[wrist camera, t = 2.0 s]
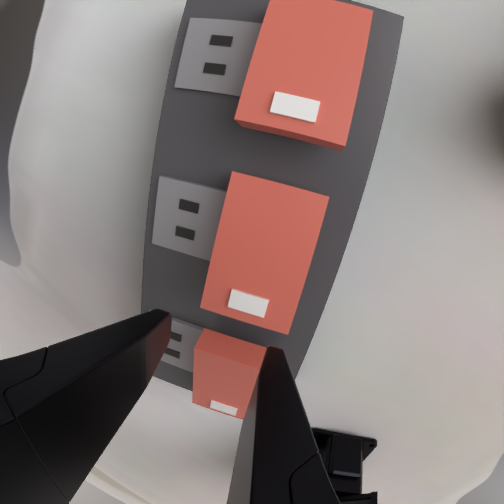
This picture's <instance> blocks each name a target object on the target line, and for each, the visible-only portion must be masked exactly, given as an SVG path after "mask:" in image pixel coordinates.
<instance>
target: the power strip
mask: <svg viewBox="0 0 504 504" xmlns="http://www.w3.org/2000/svg"><path fill="white" fill-rule="evenodd" d="M335 1H339V2H344V3H348V4H352V5H356V6H359V7H363V8H367V9H370V10H373V15H372V21H371V27H370V33H369V38H368V44H367V49H366V54H365V59H364V65H363V70H362V74H361V79H360V84H359V89H358V94H357V98H356V103H355V107H354V112H353V116H352V121H351V125H350V129H349V133H348V138H347V142H346V146H345V148H344V149H343V150H342V152H341V151H337V150H334V149H330V148H327V147H323V146H320V145H316V144H312V143H308V142H305V141H301V140H297V139H293V138H289V137H285V136H280V135H276V134H272V133H268V132H263V131H259V130H254V129H249V128H245V127H242V126H241V125H240V124H239V123H238V122H237V121H236V120H235V119H234V118H235V114H236V111H237V107H238V103H239V100H240V96H241V93H242V89H243V86H244V82H245V79H246V76H247V72H248V69H249V65H250V62H251V59H252V55H253V52H254V49H255V46H256V42H257V39H258V36H259V33H260V29H261V26H262V23H263V20H264V17H265V14H266V11H267V8H268V5H269V2H270V0H187V2H186V6H185V9H184V13H183V16H182V20H181V24H180V28H179V32H178V36H177V40H176V44H175V48H174V52H173V57H172V61H171V66H170V70H169V75H168V80H167V85H166V90H165V95H164V100H163V106H162V111H161V117H160V123H159V129H158V135H157V141H156V148H155V154H154V162H153V169H152V177H151V185H150V193H149V202H148V212H147V222H146V234H145V246H144V261H143V278H142V302H141V314H142V313H145V312H148V311H151V310H154V309H162V310H164V311H167V312H170V313H171V315H172V325H171V337H170V341H169V344H168V346H167V348H166V350H165V352H164V354H163V356H162V358H161V360H160V362H159V364H158V366H157V368H156V370H155V372H154V374H153V376H155V377H157V378H159V379H162V380H164V381H167V382H169V383H172V384H175V385H177V386H180V387H182V388H185V389H188V390H190V391H193V365H194V347H195V345H196V343H197V341H198V339H199V337H200V335H201V333H202V331H203V330H204V328H207V329H209V330H212V331H215V332H219V333H222V334H225V335H228V336H231V337H234V338H237V339H240V340H243V341H247V342H250V343H253V344H256V345H260V346H263V347H266V348H267V346H269V345H271V346H274V347H278V348H281V349H283V350H284V352H285V355H286V358H287V360H288V363H289V366H290V369H291V372H292V375H293V378H294V381H295V378H296V376H297V374H298V371H299V369H300V367H301V364H302V362H303V360H304V357H305V355H306V353H307V350H308V348H309V345H310V343H311V340H312V338H313V335H314V333H315V330H316V328H317V325H318V323H319V320H320V318H321V315H322V312H323V310H324V307H325V304H326V302H327V299H328V296H329V294H330V291H331V288H332V286H333V283H334V280H335V277H336V274H337V272H338V269H339V266H340V263H341V260H342V257H343V254H344V251H345V248H346V246H347V243H348V239H349V236H350V233H351V230H352V227H353V224H354V221H355V218H356V215H357V211H358V208H359V205H360V202H361V198H362V195H363V192H364V188H365V185H366V182H367V178H368V175H369V171H370V168H371V164H372V160H373V157H374V153H375V149H376V145H377V142H378V138H379V134H380V130H381V126H382V122H383V118H384V114H385V110H386V105H387V101H388V97H389V92H390V88H391V83H392V78H393V74H394V69H395V64H396V59H397V54H398V48H399V43H400V37H401V32H402V26H403V20H404V17H403V16H400V15H397V14H394V13H391V12H388V11H385V10H382V9H379V8H375V7H372V6H369V5H365V4H361V3H358V2H354V1H351V0H335ZM232 171H234V172H238V173H242V174H246V175H250V176H254V177H258V178H262V179H266V180H270V181H274V182H278V183H282V184H285V185H289V186H293V187H296V188H300V189H304V190H307V191H311V192H314V193H318V194H321V195H325V196H328V197H329V201H328V204H327V208H326V212H325V215H324V219H323V222H322V226H321V229H320V233H319V236H318V240H317V243H316V247H315V250H314V254H313V257H312V260H311V264H310V267H309V270H308V274H307V277H306V280H305V283H304V287H303V290H302V293H301V296H300V299H299V303H298V306H297V309H296V312H295V315H294V318H293V321H292V324H291V327H290V330H289V333H288V335H287V334H283V333H280V332H277V331H273V330H270V329H266V328H263V327H260V326H256V325H253V324H250V323H247V322H243V321H240V320H237V319H234V318H231V317H227V316H224V315H221V314H218V313H215V312H212V311H209V310H206V309H203V308H200V305H201V301H202V296H203V292H204V287H205V283H206V278H207V274H208V269H209V265H210V260H211V256H212V252H213V248H214V243H215V239H216V235H217V231H218V226H219V222H220V218H221V214H222V210H223V206H224V202H225V198H226V194H227V190H228V186H229V182H230V178H231V174H232Z"/></svg>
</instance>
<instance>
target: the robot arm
mask: <svg viewBox="0 0 504 504" xmlns="http://www.w3.org/2000/svg"><path fill="white" fill-rule="evenodd" d="M171 325H172V315H171V313H170V312H167V311H164V310H162V309H154V310H151V311H148V312H145V313H142V314H140V315H137V316H134V317H131V318H128V319H126V320H123V321H120V322H117V323H114V324H111V325H108V326H106V327H103V328H100V329H97V330H94V331H91V332H88V333H85V334H83V335H80V336H77V337H74V338H71V339H68V340H65V341H62V342H59V343H56V344H53V345H50V346H49V347H48V348H47V347H44V348H41V349H38V350H35V351H32V352H29V353H26V354H22V355H19V356H15V357H11V358H7V359H3V360H0V504H69V501H71V499H72V498H73V496H74V495H75V493H76V492H77V490H78V489H79V487H80V486H81V484H82V483H83V481H84V480H85V478H86V477H87V475H88V474H89V472H90V471H91V469H92V468H93V466H94V465H95V463H96V462H97V460H98V459H99V457H100V456H101V454H102V453H103V451H104V450H105V448H106V447H107V445H108V444H109V442H110V441H111V439H112V438H113V436H114V435H115V434H116V432H117V431H118V429H119V428H120V426H121V425H122V423H123V422H124V420H125V419H126V417H127V416H128V414H129V413H130V411H131V410H132V408H133V407H134V405H135V404H136V402H137V401H138V400H139V398H140V397H141V395H142V394H143V392H144V390H145V389H146V387H147V385H148V383H149V382H150V380H151V378H152V376H153V374H154V372H155V370H156V368H157V366H158V364H159V362H160V360H161V358H162V356H163V354H164V352H165V350H166V348H167V346H168V344H169V341H170V337H171ZM376 446H377V440H375V439H369V438H363V437H357V436H352V435H346V434H341V433H336V432H331V431H326V430H321V429H316V428H315V429H311V427H310V424H309V421H308V418H307V415H306V412H305V409H304V407H303V404H302V401H301V398H300V395H299V392H298V389H297V386H296V384H295V381H294V378H293V375H292V372H291V369H290V366H289V363H288V360H287V358H286V355H285V352H284V350H283V349H281V348H278V347H274V346H271V345H269V346H267V349H266V352H265V355H264V358H263V361H262V364H261V367H260V370H259V374H258V377H257V380H256V383H255V386H254V389H253V392H252V395H251V398H250V401H249V404H248V407H247V410H246V413H245V416H244V420H243V423H242V428H241V432H240V438H239V443H238V448H237V454H236V459H235V464H234V469H233V474H232V479H231V484H230V489H229V494H228V499H227V504H377V492H371V493H368V494H362V464H363V461H364V460H365V459H366V457H367V456H368V455H369V454H370V453H371V452H372V451H373V450H374V448H375V447H376Z"/></svg>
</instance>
